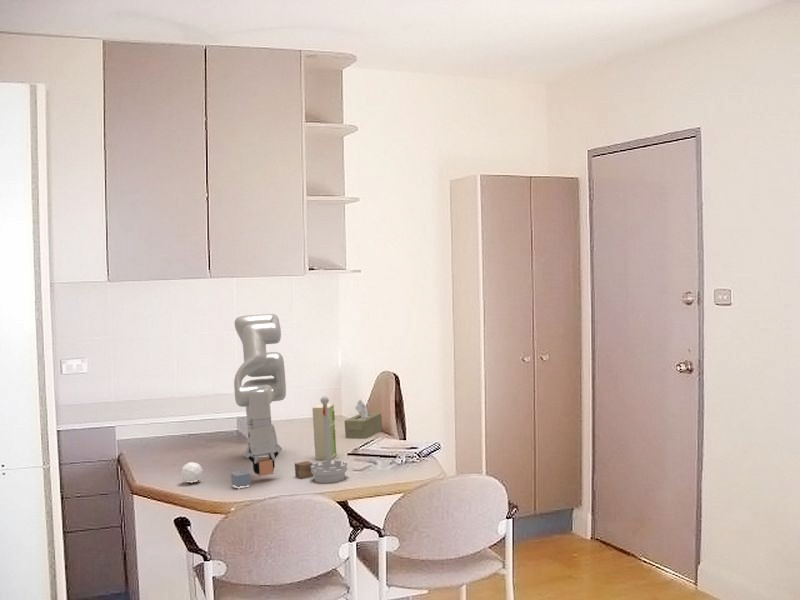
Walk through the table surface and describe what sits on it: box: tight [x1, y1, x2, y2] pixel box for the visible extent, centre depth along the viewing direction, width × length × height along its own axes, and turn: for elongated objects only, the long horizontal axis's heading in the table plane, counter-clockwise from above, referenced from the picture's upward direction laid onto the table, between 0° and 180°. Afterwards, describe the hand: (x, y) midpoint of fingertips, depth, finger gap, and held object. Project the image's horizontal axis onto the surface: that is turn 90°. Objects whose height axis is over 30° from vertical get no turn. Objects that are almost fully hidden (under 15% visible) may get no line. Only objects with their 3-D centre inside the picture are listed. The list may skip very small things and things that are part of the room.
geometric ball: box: [180, 461, 204, 482], centre depth 331 cm, size 8×8×8 cm
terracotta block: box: [257, 458, 274, 477], centre depth 329 cm, size 5×5×5 cm
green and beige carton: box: [312, 403, 337, 461], centre depth 359 cm, size 8×7×21 cm
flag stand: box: [311, 395, 348, 484], centre depth 324 cm, size 13×13×30 cm
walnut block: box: [294, 460, 314, 480], centre depth 331 cm, size 5×5×5 cm
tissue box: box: [344, 399, 383, 440], centre depth 403 cm, size 19×10×16 cm, turn 157°
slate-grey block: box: [231, 470, 252, 487], centre depth 321 cm, size 5×5×5 cm
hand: (264, 471), depth 329 cm, fingers closed on terracotta block, 5 cm apart
